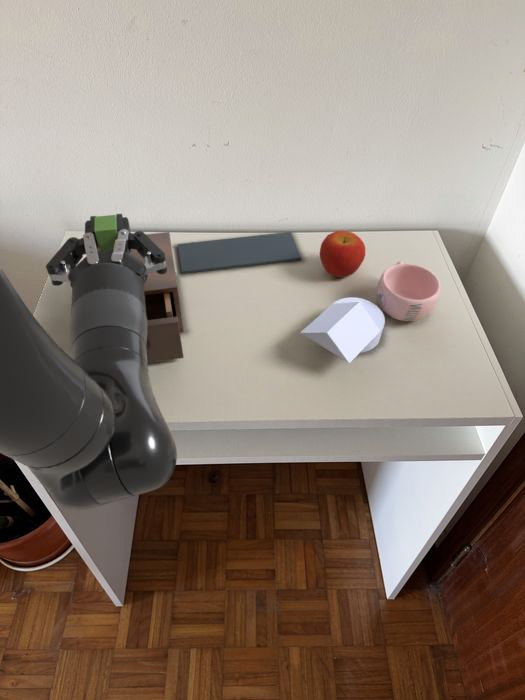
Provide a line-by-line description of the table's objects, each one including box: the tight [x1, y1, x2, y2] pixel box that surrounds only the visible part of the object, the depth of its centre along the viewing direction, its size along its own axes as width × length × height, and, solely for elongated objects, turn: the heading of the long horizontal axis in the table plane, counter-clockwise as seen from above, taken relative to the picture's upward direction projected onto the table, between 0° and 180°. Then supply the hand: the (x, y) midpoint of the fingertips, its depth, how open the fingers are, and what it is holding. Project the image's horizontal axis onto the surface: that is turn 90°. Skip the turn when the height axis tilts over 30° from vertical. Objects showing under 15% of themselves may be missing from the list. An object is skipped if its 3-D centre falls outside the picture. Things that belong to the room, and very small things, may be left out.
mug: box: [376, 260, 442, 322], centre depth 83 cm, size 12×10×6 cm
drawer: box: [145, 292, 184, 364], centre depth 75 cm, size 14×10×8 cm
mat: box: [177, 231, 302, 275], centre depth 93 cm, size 22×8×1 cm, turn 102°
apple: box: [319, 230, 366, 278], centre depth 87 cm, size 8×8×8 cm
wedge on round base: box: [300, 296, 386, 364], centre depth 77 cm, size 9×7×13 cm
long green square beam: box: [94, 214, 118, 251], centre depth 65 cm, size 2×3×15 cm
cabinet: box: [98, 231, 184, 333], centre depth 79 cm, size 14×12×10 cm
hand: (107, 221), depth 63 cm, fingers closed on long green square beam, 2 cm apart
